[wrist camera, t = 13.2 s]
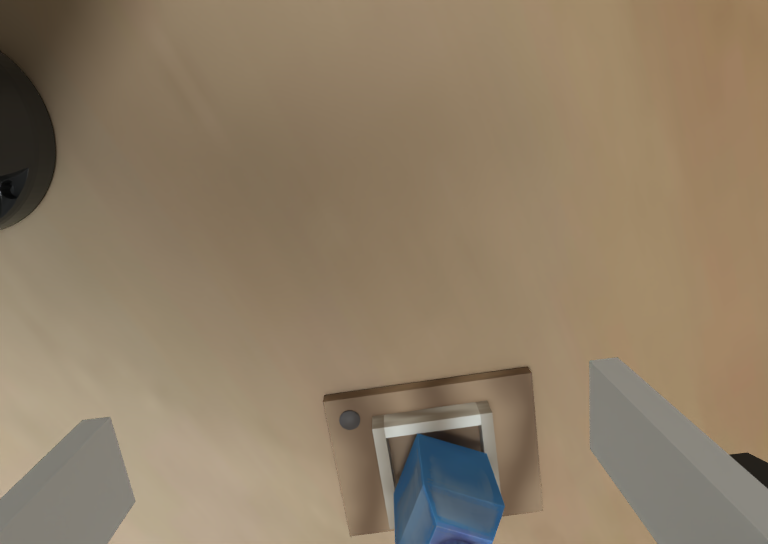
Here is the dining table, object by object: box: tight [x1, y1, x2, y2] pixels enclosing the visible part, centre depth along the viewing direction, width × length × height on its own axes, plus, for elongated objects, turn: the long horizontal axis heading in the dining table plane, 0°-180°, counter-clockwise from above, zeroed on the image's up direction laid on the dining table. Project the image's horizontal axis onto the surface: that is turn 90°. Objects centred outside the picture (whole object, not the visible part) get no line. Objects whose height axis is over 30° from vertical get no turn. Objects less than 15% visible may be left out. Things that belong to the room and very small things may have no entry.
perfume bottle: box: [394, 433, 505, 544], centre depth 35 cm, size 6×6×12 cm
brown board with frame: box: [323, 367, 543, 536], centre depth 43 cm, size 18×14×3 cm
